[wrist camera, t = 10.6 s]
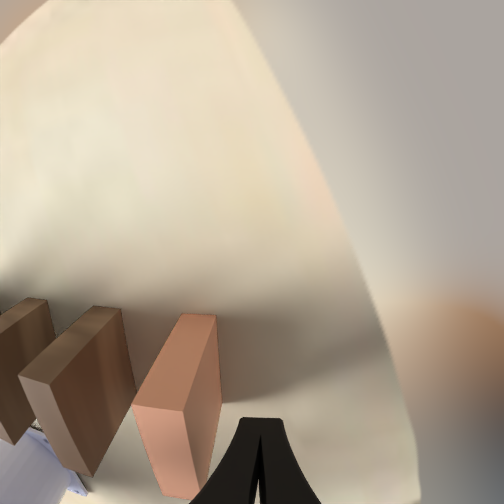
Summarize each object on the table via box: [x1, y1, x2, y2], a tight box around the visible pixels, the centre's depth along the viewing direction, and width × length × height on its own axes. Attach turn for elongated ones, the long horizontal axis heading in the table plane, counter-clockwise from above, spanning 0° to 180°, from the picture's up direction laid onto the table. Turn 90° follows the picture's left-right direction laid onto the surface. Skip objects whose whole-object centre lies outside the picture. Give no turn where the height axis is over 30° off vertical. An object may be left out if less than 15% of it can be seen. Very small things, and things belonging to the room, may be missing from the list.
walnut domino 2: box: [18, 306, 137, 477], centre depth 11 cm, size 2×5×6 cm, turn 0°
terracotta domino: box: [131, 314, 222, 500], centre depth 11 cm, size 2×5×6 cm, turn 1°
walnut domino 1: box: [0, 298, 56, 446], centre depth 12 cm, size 2×5×6 cm, turn 179°
